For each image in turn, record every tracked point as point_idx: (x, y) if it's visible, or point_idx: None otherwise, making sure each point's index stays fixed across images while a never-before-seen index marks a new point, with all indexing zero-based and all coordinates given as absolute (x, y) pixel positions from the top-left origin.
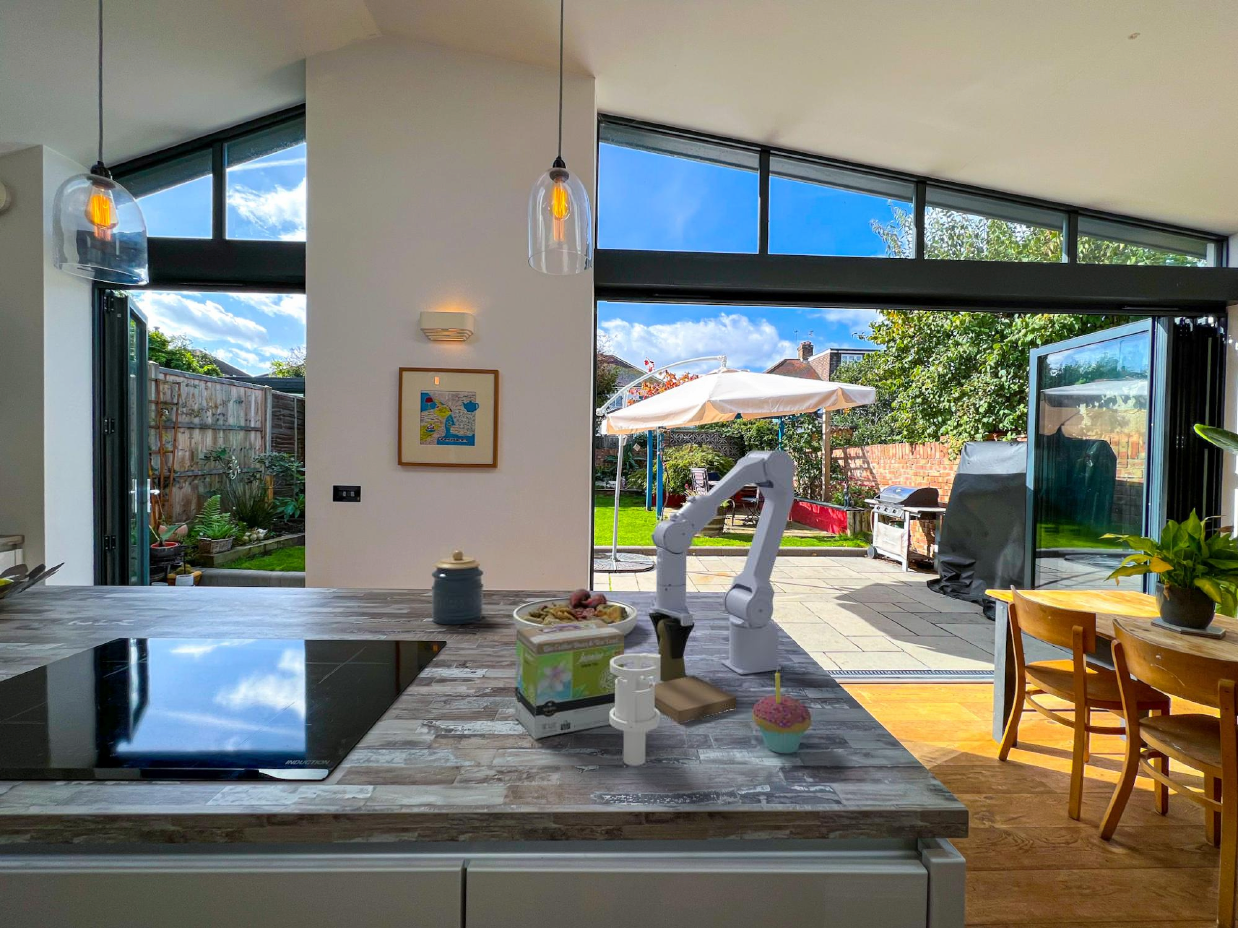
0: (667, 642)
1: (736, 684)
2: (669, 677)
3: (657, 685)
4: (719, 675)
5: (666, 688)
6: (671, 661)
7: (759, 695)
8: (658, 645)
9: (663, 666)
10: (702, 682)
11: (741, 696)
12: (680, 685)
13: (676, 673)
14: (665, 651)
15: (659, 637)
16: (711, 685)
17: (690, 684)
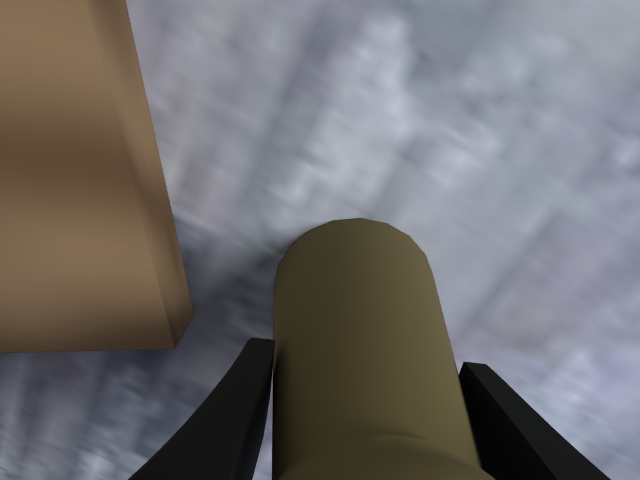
0: (307, 422)
1: (158, 448)
2: (288, 262)
3: (68, 76)
4: (269, 450)
5: (3, 104)
6: (283, 326)
7: (32, 449)
8: (501, 380)
9: (318, 270)
10: (63, 332)
11: (33, 401)
12: (42, 212)
13: (275, 304)
14: (317, 346)
15: (517, 443)
16: (15, 345)
17: (47, 268)
